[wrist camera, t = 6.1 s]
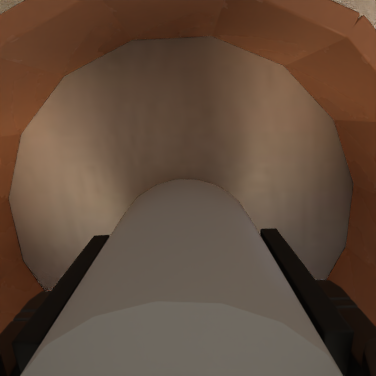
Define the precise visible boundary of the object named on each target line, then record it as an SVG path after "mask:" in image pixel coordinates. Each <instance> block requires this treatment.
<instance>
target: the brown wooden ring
mask: <svg viewBox="0 0 376 376" xmlns="http://www.w3.org/2000/svg"><path fill="white" fill-rule="evenodd" d="M358 17H359V12H356V11H354V10H352V9H350V8H347V7H345V6H343V5H341V4H338V3H336V2H334V1H332V0H24V1H23V2H21V3H19V4H17V5H16V6H14V7H12V8H11V9H9V10H7V11H5V12H4V13H2V14H0V334H1V332H2V331H3V330H4V329H5V328H6V327H7V325H8V324H9V323H10V322H11V321H13V318H14V317H15V316H16V315H17V314H18V313H19V312H20V310H21V309H22V308H23V307H24V306H25V304H26V303H27V302H28V301H29V300H30V299H31V298H33V297H34V296H36V295H37V294H39V293H40V292H41V291H44V290H43V288H42V287H41V286H40V284H39V283H38V281H37V280H36V279H35V277H34V276H33V274H32V273H31V272H30V270H29V269H28V267H27V266H26V265H25V263H24V262H23V260H22V255H21V251H20V247H19V243H18V238H17V234H16V230H15V226H14V221H13V217H12V213H11V208H10V204H9V200H8V198H9V193H10V188H11V183H12V178H13V173H14V167H15V162H16V157H17V152H18V147H19V142H20V137H21V133H22V132H23V131H24V129H25V128H26V127H27V125H28V124H29V123H30V121H31V120H32V118H33V117H34V116H35V114H36V113H37V112H38V110H39V109H40V108H41V106H42V105H43V104H44V102H45V101H46V100H47V98H48V97H49V96H50V94H51V93H52V91H53V90H54V89H55V87H56V86H57V85H58V83H59V82H60V81H61V79H62V78H63V77H64V76H65V75H67V74H69V73H71V72H73V71H74V70H76V69H78V68H80V67H82V66H84V65H86V64H88V63H90V62H91V61H93V60H95V59H97V58H99V57H101V56H103V55H105V54H107V53H108V52H110V51H112V50H114V49H116V48H118V47H120V46H122V45H124V44H125V43H127V42H129V41H131V40H139V39H161V38H182V37H203V36H213V37H216V38H218V39H220V40H223V41H225V42H228V43H230V44H233V45H235V46H237V47H240V48H242V49H245V50H247V51H250V52H252V53H254V54H257V55H259V56H262V57H264V58H267V59H269V60H271V61H274V62H276V63H279V64H281V65H284V66H285V67H286V68H287V69H288V71H289V72H290V73H291V74H292V75H293V76H294V77H295V78H296V79H297V80H298V81H299V83H300V84H301V85H302V86H303V87H304V88H305V89H306V90H307V91H308V92H309V94H310V95H311V96H312V97H313V98H314V99H315V100H316V101H317V102H318V103H319V104H320V106H321V107H322V108H323V109H324V110H325V111H326V112H327V113H328V114H329V115H330V116H331V118H332V119H333V120H334V122H335V126H336V129H337V132H338V135H339V138H340V142H341V145H342V148H343V151H344V155H345V158H346V161H347V164H348V167H349V171H350V174H351V177H352V180H353V184H354V185H353V193H352V201H351V209H350V217H349V225H348V233H347V241H346V247H345V248H344V250H343V252H342V254H341V255H340V257H339V259H338V261H337V262H336V264H335V266H334V268H333V269H332V271H331V273H330V275H329V276H328V278H327V280H330V281H332V282H333V283H335V284H336V285H338V286H340V287H341V288H342V289H343V290H344V291H345V292H346V293H347V294H348V296H349V297H350V299H351V300H353V301H354V302H355V304H356V305H357V307H358V308H360V309H361V310H362V312H363V313H364V314H365V315H366V316H367V317H368V318H369V320H370V321H371V322H372V323H373V324H374V325H375V326H376V29H375V28H374V27H373V26H372V24H371V23H370V22H369V21H368V19H367V18H366V17H365V16H364V15H363V16H361V17H359V18H358Z"/></svg>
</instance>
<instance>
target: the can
mask: <svg viewBox="0 0 376 376" xmlns="http://www.w3.org/2000/svg"><path fill="white" fill-rule="evenodd" d="M20 376H343V375H342V373H341V371H340V370H339V368H338V366H337V365H336V363H335V361H334V359H333V358H332V356H331V354H330V353H329V351H328V349H327V348H326V346H325V344H324V343H323V341H322V339H321V337H320V336H319V334H318V332H317V331H316V329H315V327H314V326H313V324H312V322H311V321H310V319H309V317H308V315H307V314H306V312H305V310H304V309H303V307H302V305H301V304H300V302H299V300H298V298H297V297H296V295H295V293H294V292H293V290H292V288H291V287H290V285H289V283H288V282H287V280H286V278H285V276H284V275H283V273H282V271H281V270H280V268H279V266H278V265H277V263H276V261H275V260H274V258H273V256H272V254H271V253H270V251H269V249H268V248H267V246H266V244H265V243H264V241H263V239H262V237H261V236H260V234H259V232H258V231H257V229H256V227H255V226H254V224H253V222H252V221H251V219H250V217H249V216H248V214H247V213H246V211H245V210H244V208H243V207H242V205H241V204H240V202H239V201H238V200H237V199H236V198H234V197H233V196H232V195H231V194H229V193H228V192H227V191H225V190H224V189H223V188H221V187H219V186H216V185H213V184H210V183H207V182H205V181H202V180H189V179H176V180H172V181H168V182H165V183H161V184H158V185H155V186H153V187H152V188H150V189H149V190H147V191H146V192H144V193H143V194H141V195H140V196H138V197H137V198H136V199H135V201H134V202H133V203H132V205H131V206H130V207H129V208H128V210H127V211H126V212H125V214H124V215H123V217H122V218H121V220H120V221H119V223H118V224H117V226H116V228H115V229H114V231H113V232H112V234H111V235H110V237H109V238H108V240H107V242H106V243H105V245H104V246H103V248H102V249H101V251H100V252H99V254H98V256H97V257H96V259H95V260H94V262H93V263H92V265H91V266H90V268H89V270H88V271H87V273H86V274H85V276H84V277H83V279H82V280H81V282H80V284H79V285H78V287H77V288H76V290H75V291H74V293H73V294H72V296H71V298H70V299H69V301H68V302H67V304H66V305H65V307H64V308H63V310H62V312H61V313H60V315H59V316H58V318H57V319H56V321H55V322H54V324H53V326H52V327H51V329H50V330H49V332H48V333H47V335H46V336H45V338H44V340H43V341H42V343H41V344H40V346H39V347H38V349H37V350H36V352H35V353H34V355H33V357H32V358H31V360H30V361H29V363H28V364H27V366H26V367H25V369H24V371H23V372H22V374H21V375H20Z"/></svg>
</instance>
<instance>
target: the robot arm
mask: <svg viewBox="0 0 376 376" xmlns="http://www.w3.org/2000/svg"><path fill="white" fill-rule="evenodd" d="M260 236H261V237H262V239H263V241H264V243H265V244H266V246H267V248H268V249H269V251H270V253H271V254H272V256H273V258H274V260H275V261H276V263H277V265H278V266H279V268H280V270H281V271H282V273H283V275H284V276H285V278H286V280H287V282H288V283H289V285H290V287H291V288H292V290H293V292H294V293H295V295H296V297H297V298H298V300H299V302H300V304H301V305H302V307H303V309H304V310H305V312H306V314H307V315H308V317H309V319H310V321H311V322H312V324H313V326H314V327H315V329H316V331H317V332H318V334H319V336H320V337H321V339H322V341H323V343H324V344H325V346H326V348H327V349H328V351H329V353H330V354H331V356H332V358H333V359H334V361H335V363H336V365H337V366H338V368H339V370H340V371H341V373H342V375H343V376H376V326H375V325H374V324H373V323H372V322H371V321H370V320H369V318H368V317H367V316H366V315H365V314H364V313H363V312H362V310H361V309H360V308H358V307H357V305H356V304H355V302H354V301H353V300H351V299H350V297H349V296H348V294H347V293H346V292H345V291H344V290H343V289H342V288H341V287H340V286H338V285H336V284H335V283H333V282H332V281H330V280H315V279H314V278H313V276H312V275H311V274H310V272H309V271H308V270H307V269H306V267H305V266H304V265H303V263H302V262H301V261H300V259H299V258H298V257H297V255H296V254H295V253H294V251H293V250H292V249H291V248H290V246H289V245H288V244H287V242H286V241H285V240H284V238H283V237H282V236H281V234H280V233H279V232H278V230H277V229H261V231H260ZM109 237H110V236H109V235H98V236H94V237H93V238H92V239H91V240H90V242H89V243H88V244H87V246H86V247H85V248H84V249H83V251H82V252H81V253H80V255H79V256H78V257H77V259H76V260H75V261H74V262H73V264H72V265H71V266H70V268H69V269H68V270H67V271H66V273H65V274H64V275H63V277H62V278H61V279H60V280H59V282H58V283H57V284H56V286H55V287H54V288H53V290H52V291H41V292H40V293H39V294H37V295H36V296H34V297H33V298H31V299H30V300H29V301H28V302H27V303H26V304H25V306H24V307H23V308H22V309H21V310H20V312H19V313H18V314H17V315H16V316H15V317H14V318H13V321H11V322H10V323H9V324H8V325H7V327H6V328H5V329H4V330H3V331H2V332H1V334H0V376H20V375H21V374H22V372H23V371H24V369H25V367H26V366H27V364H28V363H29V361H30V360H31V358H32V357H33V355H34V353H35V352H36V350H37V349H38V347H39V346H40V344H41V343H42V341H43V340H44V338H45V336H46V335H47V333H48V332H49V330H50V329H51V327H52V326H53V324H54V322H55V321H56V319H57V318H58V316H59V315H60V313H61V312H62V310H63V308H64V307H65V305H66V304H67V302H68V301H69V299H70V298H71V296H72V294H73V293H74V291H75V290H76V288H77V287H78V285H79V284H80V282H81V280H82V279H83V277H84V276H85V274H86V273H87V271H88V270H89V268H90V266H91V265H92V263H93V262H94V260H95V259H96V257H97V256H98V254H99V252H100V251H101V249H102V248H103V246H104V245H105V243H106V242H107V240H108V238H109Z"/></svg>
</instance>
